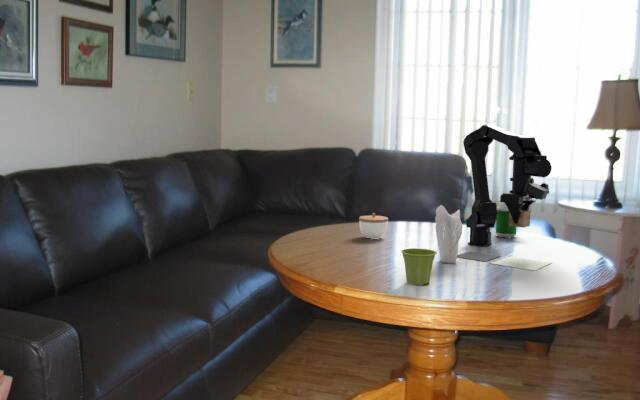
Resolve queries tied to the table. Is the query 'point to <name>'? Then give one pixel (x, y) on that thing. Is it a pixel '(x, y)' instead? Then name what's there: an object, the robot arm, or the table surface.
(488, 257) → the mat
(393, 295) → the table surface
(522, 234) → the table surface
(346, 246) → the table surface
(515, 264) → the mat
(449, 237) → the shell sculpture
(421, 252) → the plant pot
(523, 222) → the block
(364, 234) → the lidded jar
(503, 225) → the soda can
